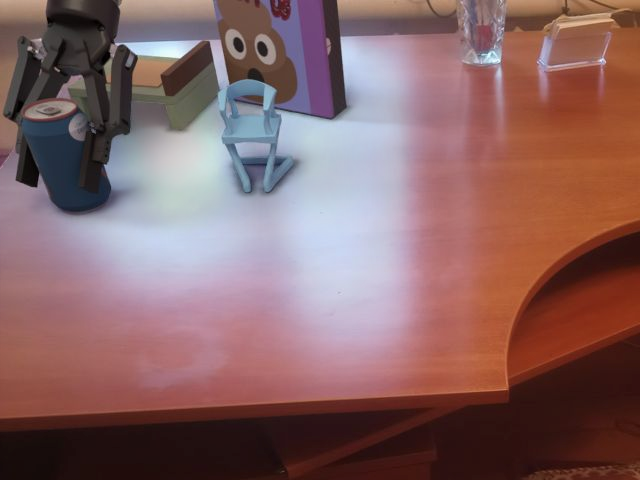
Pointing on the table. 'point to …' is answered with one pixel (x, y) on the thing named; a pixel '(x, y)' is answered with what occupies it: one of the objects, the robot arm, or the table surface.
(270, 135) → the chair
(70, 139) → the soda can
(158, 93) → the shelf
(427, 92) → the table surface
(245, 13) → the cereal box
